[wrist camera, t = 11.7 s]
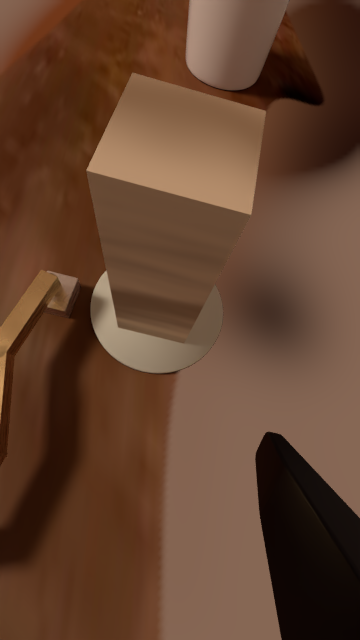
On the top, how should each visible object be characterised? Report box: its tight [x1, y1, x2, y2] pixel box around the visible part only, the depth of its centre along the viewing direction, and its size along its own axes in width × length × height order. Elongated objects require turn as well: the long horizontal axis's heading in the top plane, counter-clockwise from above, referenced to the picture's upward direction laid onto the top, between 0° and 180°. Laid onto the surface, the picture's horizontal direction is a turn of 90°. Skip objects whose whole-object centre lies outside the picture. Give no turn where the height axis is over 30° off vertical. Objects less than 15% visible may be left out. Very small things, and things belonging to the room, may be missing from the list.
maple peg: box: [86, 73, 266, 344], centre depth 14 cm, size 4×4×12 cm
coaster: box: [90, 270, 223, 374], centre depth 19 cm, size 9×9×1 cm
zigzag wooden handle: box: [0, 270, 81, 466], centre depth 15 cm, size 16×3×3 cm, turn 168°
